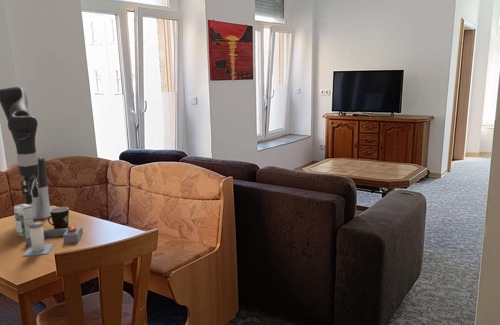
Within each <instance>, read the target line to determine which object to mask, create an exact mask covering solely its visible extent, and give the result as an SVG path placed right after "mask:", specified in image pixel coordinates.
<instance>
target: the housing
mask: <svg viewBox="0 0 500 325" xmlns="http://www.w3.org/2000/svg"><path fill="white" fill-rule="evenodd" d="M75 227H76V226H75ZM68 228H69V227H68ZM68 228H62V229H54V228H51V229H49V228H48V229H43V235H44V241H45V239H47V238H51V237H52V238H53V237H63V243H64V244H70V243H78V242H79V241H80V239H81V237H82V235H83V234H84V229H83V226H77V227H76V231H75V232H72V233H69V232H68ZM24 239H25V240H24V241H25V246H26V247H30V246H32V244H31V236H30V233H29V234H28V235H27V236H24Z"/></svg>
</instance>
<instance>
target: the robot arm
mask: <svg viewBox="0 0 500 325" xmlns="http://www.w3.org/2000/svg"><path fill="white" fill-rule="evenodd" d="M0 105H1V108H2V110H3V112H4V114H5V118H6V120H7V127H8V130H9V131H10V133H11V136H12V139H13V142H14V144H15V148H16V149H15V150H16V162H17V168H18V169H17V170H18V175H19V176H21V177H23V180H21V181H20V183H21V191H22V196H25V202H26V203H25V204H27V205H31V206H32V214H33V220H44V219H46V218H47V219H48V218H49V217H50V216H51V214H50V210H51V206H50V204H51V203H50V197H49V189H48V178H47V176H48V175H47V162H46V160H45V158H44V157H43V156H38V155H37V148H36V134H37V130H38V119H37V118H36V117H35V116H34V115H30V113H29V110H28V106H29V105H28V97H27V94H26V91H25V89H24V88H22V87H21V86H13V87H6V88H1V89H0Z"/></svg>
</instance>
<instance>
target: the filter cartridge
mask: <svg viewBox="0 0 500 325" xmlns="http://www.w3.org/2000/svg"><path fill="white" fill-rule="evenodd" d="M43 225H44V223H43V221H33V223H30V224H29V228H30V236H31V244H32V251H33V252H39V251H42V250H44V249H45V245H46V243H45V240H44V235H43V230H44V228H43Z"/></svg>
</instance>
